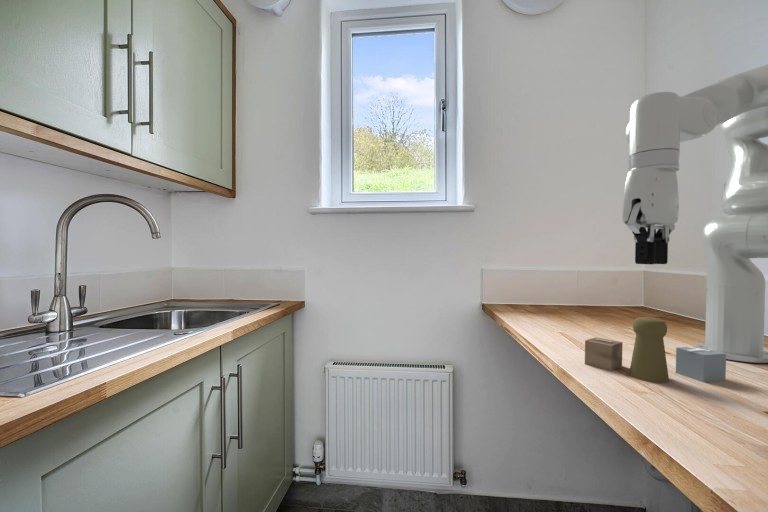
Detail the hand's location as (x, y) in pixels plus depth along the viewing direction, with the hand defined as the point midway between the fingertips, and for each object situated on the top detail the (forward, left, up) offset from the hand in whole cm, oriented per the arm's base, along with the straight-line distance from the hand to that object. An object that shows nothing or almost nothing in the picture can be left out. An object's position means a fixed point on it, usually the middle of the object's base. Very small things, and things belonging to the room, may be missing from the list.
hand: (651, 263), depth 67 cm
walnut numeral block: (+1, -8, -21) cm, 23 cm away
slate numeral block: (-9, +4, -21) cm, 23 cm away
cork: (0, 0, -21) cm, 21 cm away
